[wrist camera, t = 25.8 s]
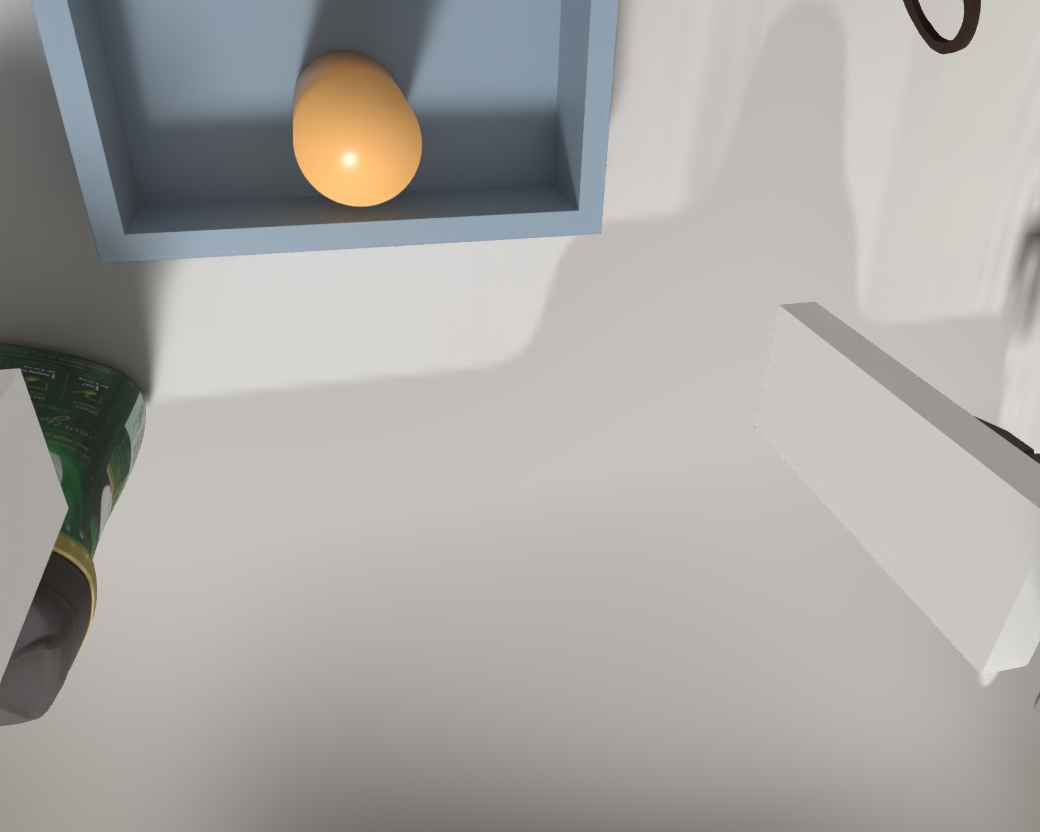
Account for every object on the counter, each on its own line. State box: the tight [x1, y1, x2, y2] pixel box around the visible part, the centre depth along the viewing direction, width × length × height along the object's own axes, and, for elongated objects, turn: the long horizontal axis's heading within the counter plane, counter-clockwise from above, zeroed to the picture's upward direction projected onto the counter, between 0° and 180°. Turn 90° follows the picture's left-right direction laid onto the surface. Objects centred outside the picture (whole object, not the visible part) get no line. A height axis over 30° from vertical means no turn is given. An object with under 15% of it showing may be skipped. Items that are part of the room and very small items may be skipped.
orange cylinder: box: [293, 50, 422, 207], centre depth 34 cm, size 5×5×7 cm
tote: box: [31, 0, 619, 264], centre depth 34 cm, size 18×22×6 cm
